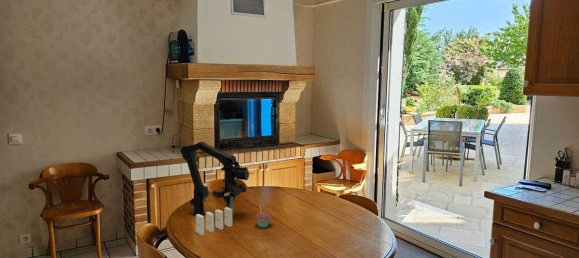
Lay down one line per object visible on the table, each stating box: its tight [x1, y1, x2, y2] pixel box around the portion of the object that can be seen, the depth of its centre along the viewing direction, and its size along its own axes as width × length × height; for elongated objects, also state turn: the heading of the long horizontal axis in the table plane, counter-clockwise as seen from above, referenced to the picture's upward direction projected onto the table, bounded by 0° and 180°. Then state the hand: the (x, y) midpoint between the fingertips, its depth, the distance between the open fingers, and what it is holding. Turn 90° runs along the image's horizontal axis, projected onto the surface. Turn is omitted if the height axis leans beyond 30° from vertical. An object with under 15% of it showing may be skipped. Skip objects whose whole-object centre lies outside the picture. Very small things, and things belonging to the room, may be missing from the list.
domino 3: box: [214, 209, 224, 230], centre depth 201 cm, size 2×5×9 cm, turn 42°
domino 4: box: [223, 206, 233, 228], centre depth 205 cm, size 2×5×9 cm, turn 42°
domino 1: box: [195, 214, 205, 236], centre depth 194 cm, size 2×5×9 cm, turn 43°
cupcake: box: [254, 204, 273, 228], centre depth 205 cm, size 9×8×12 cm
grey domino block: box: [225, 196, 235, 214], centre depth 217 cm, size 2×5×9 cm, turn 42°
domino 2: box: [205, 211, 215, 233], centre depth 198 cm, size 2×5×9 cm, turn 42°
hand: (229, 206), depth 217 cm, fingers closed on grey domino block, 2 cm apart
